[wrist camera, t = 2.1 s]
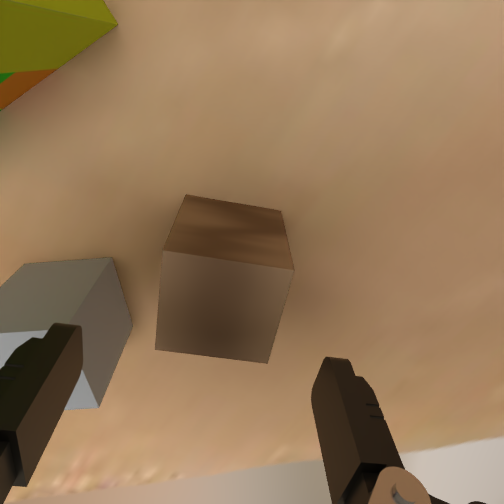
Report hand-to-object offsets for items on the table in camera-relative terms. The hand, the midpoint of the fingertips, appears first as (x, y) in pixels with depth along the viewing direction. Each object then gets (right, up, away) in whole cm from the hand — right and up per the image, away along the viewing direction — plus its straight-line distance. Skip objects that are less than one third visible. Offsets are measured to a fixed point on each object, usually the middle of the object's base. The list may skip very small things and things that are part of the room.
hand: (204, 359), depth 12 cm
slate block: (-9, +1, +10) cm, 13 cm away
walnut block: (0, +4, +8) cm, 9 cm away
